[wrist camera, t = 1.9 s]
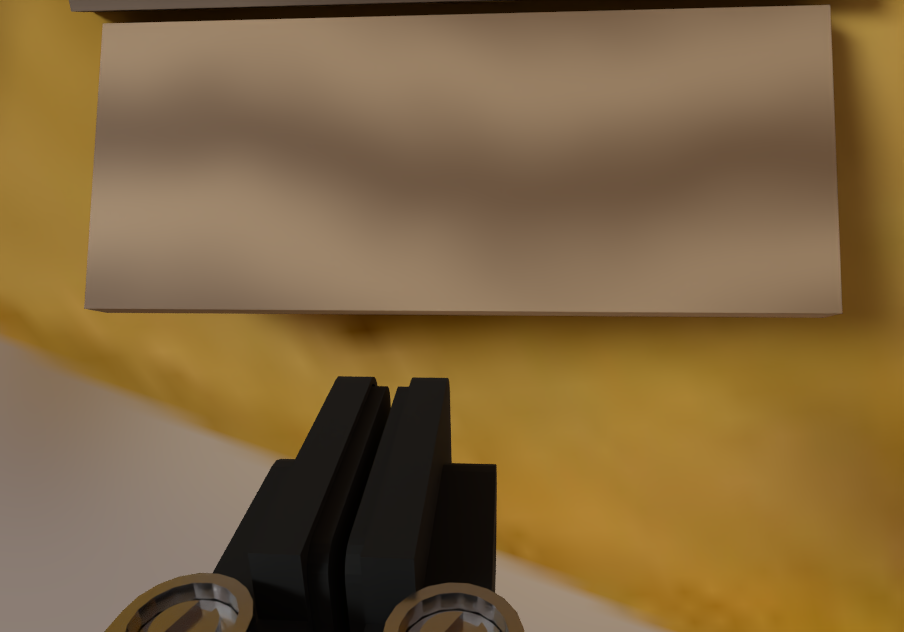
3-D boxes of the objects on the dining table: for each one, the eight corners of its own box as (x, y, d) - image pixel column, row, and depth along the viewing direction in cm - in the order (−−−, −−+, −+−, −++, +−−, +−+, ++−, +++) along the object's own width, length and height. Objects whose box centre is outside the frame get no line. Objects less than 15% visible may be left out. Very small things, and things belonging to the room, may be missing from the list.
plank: (124, 33, 23) (103, 14, 22) (811, 16, 22) (829, -6, 20) (106, 312, 22) (84, 308, 21) (823, 317, 21) (842, 313, 19)
